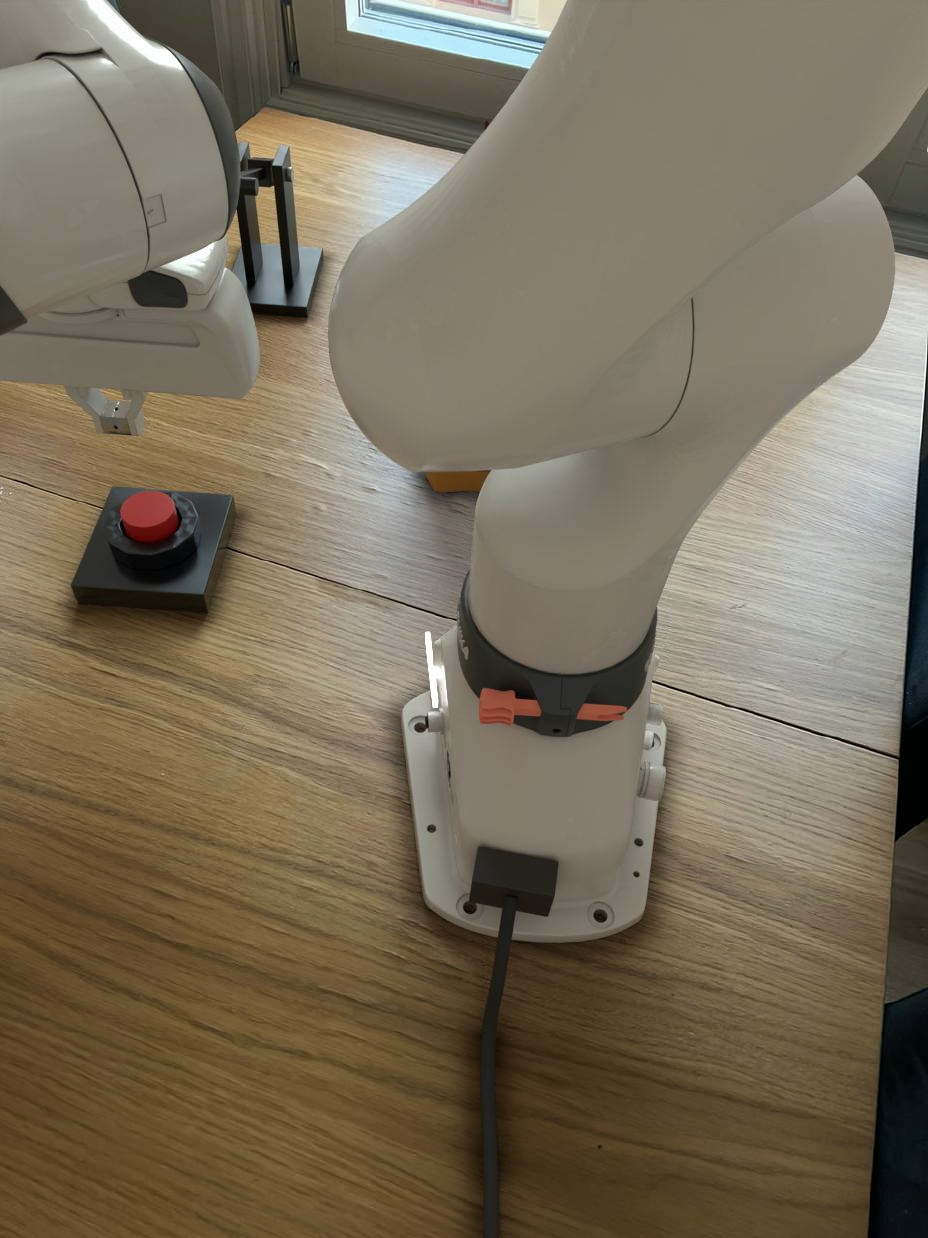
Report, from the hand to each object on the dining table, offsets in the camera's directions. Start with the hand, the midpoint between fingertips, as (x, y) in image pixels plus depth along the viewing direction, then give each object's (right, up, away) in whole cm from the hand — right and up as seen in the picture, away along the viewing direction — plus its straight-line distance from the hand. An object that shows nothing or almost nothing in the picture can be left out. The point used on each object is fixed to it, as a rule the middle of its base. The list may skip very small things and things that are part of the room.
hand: (122, 429), depth 65 cm
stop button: (0, -6, +7) cm, 9 cm away
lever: (+4, +26, +21) cm, 34 cm away
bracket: (+3, +23, +36) cm, 43 cm away
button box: (0, -8, +10) cm, 13 cm away
